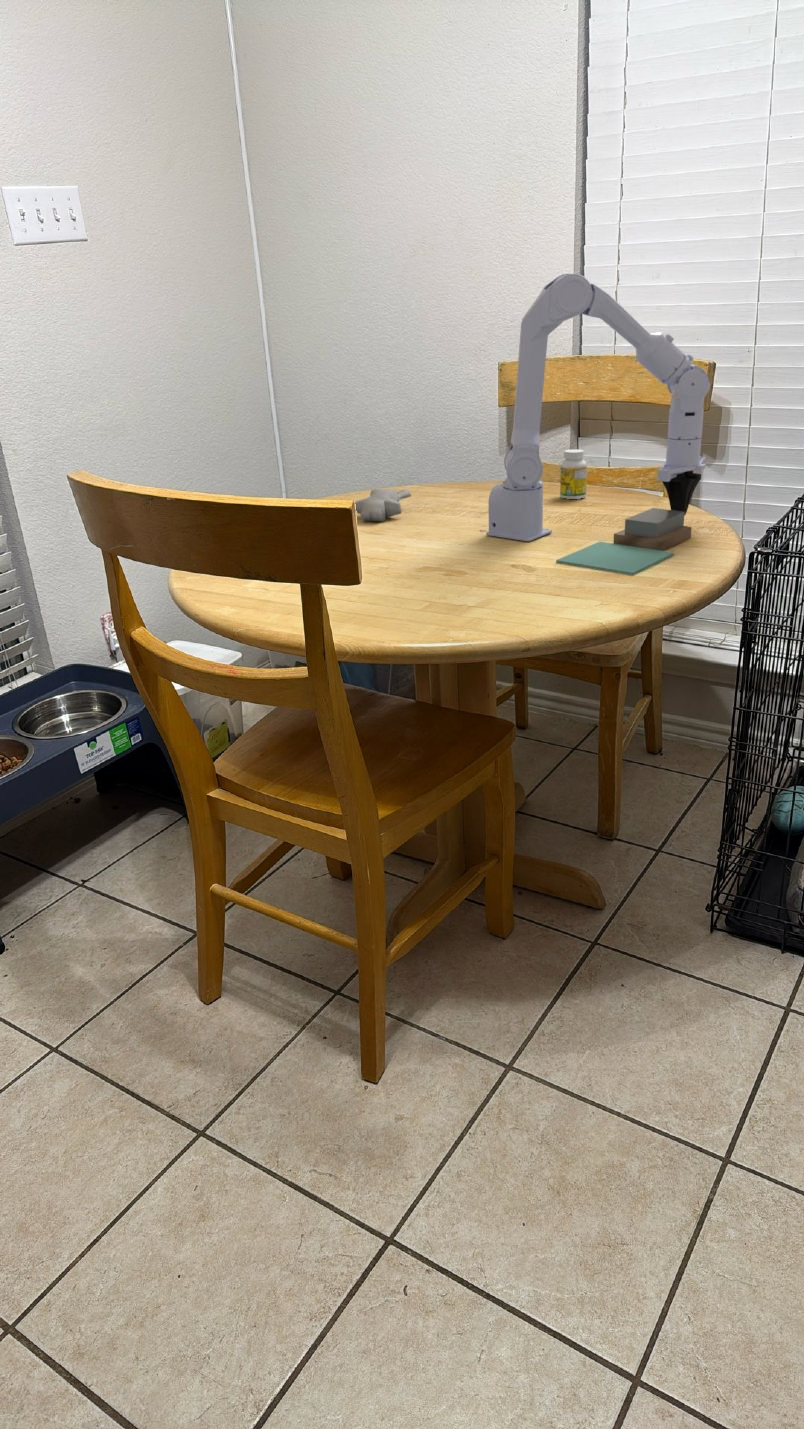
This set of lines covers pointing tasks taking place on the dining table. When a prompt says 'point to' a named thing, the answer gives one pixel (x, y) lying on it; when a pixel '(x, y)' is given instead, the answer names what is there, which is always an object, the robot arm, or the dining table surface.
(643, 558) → the teal mat
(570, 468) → the supplement bottle
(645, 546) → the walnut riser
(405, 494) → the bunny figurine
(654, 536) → the slate tile
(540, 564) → the dining table surface
